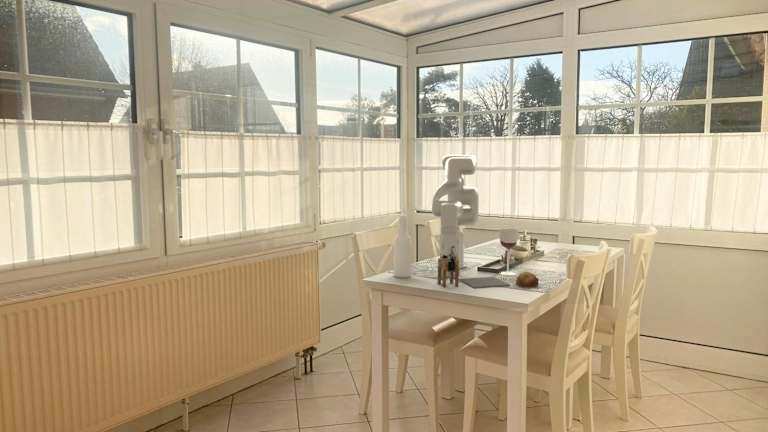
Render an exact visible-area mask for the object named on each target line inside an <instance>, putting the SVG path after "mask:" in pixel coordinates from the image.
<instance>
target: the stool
mask: <svg viewBox="0 0 768 432" xmlns="http://www.w3.org/2000/svg"><path fill="white" fill-rule="evenodd" d="M448 262H449V258H440V257H439V258H437V285H442V288H447V277H446V270H448ZM441 269H443V275H441ZM459 277H460V275H459V260H457V259H456V262H455V276H454V277H453V271H450V277H449V284H451V285H453V284H454V287H455V288H456V287H457V288H458V287H459V282H460V281H459V279H460V278H459Z"/></svg>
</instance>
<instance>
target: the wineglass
mask: <svg viewBox="0 0 768 432" xmlns="http://www.w3.org/2000/svg"><path fill="white" fill-rule="evenodd" d="M519 232H520V231H519V229H513V228H500V229H499V230H498V234H499V235H498V236H499V242H500V245H501V246H502V247H504V248H505V249H506V250H507V255H506V260H507V261H506V271H500V272H501V273H500V272H499V274H500V275H503V276H514V275H517V273H516V272H513V271H509V269H510V268H509V267H510V265H509V263H510V249H513V248H514V247H516V246H517V243H518V240H519Z"/></svg>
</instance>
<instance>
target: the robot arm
mask: <svg viewBox="0 0 768 432" xmlns="http://www.w3.org/2000/svg"><path fill="white" fill-rule="evenodd" d="M441 164H442V167H443V170H444V176H443V183H442V184H441V185H439V186H438V187H437V188H436V189H435V191H434V194H433V197H432V202H431V203H432V205H431V212H432V215H433V216H434V217H436V218H438V217H440V235H441V236H439V250H438V251H439V254H440V253H441V254H442V256H441V258H449V262H448V270H449V271H453V270H455V262H456V256H457V238H456V234H457V229H458V230H460V232H461V268H460V269H464V268H467V264H466V263H464V257H465V233H464V230H462V228H461V227H460V226H467V227H469V226H471V227H472V226H473V227H474V226H476V225H477V224H478V222H479V191H478V189H477V188H476V187H474V186H465V177H464V176H469V175H470V176H471V175H474V174H475V172H476V170H477V166H478V159H477V157H476V156H475V155H473V154H472V155H471V154H470V155H469V154H448V155H445V156H443V157H442V159H441ZM446 195H447V200H440V199H441V198H443V197H444V196H446ZM465 206H467V207H465ZM468 206H469V207H468ZM450 254H452V255H450Z"/></svg>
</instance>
